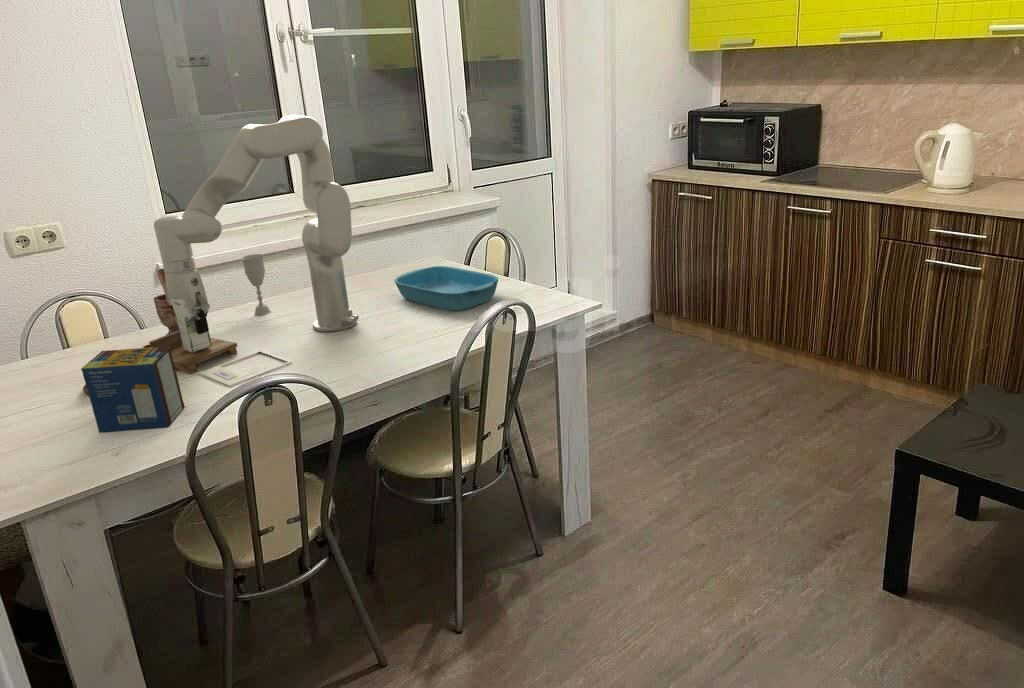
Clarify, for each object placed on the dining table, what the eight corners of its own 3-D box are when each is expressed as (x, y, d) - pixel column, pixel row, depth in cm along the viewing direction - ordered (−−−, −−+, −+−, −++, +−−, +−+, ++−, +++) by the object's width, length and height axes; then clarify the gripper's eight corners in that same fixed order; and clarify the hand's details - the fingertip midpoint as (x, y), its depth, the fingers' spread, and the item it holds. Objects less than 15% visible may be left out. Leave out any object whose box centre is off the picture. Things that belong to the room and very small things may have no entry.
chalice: (269, 315, 238) (259, 259, 231) (248, 316, 238) (237, 260, 231) (276, 308, 244) (267, 253, 238) (255, 309, 245) (245, 254, 238)
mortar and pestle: (153, 339, 223) (137, 273, 216) (180, 330, 229) (166, 265, 222) (172, 346, 216) (156, 278, 209) (200, 337, 222) (186, 271, 215)
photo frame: (198, 371, 195) (260, 349, 208) (199, 375, 195) (261, 353, 208) (229, 384, 186) (291, 360, 199) (230, 389, 186) (292, 364, 199)
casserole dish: (383, 298, 248) (381, 277, 246) (434, 281, 263) (432, 261, 261) (462, 319, 224) (460, 296, 222) (513, 299, 239) (512, 277, 237)
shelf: (238, 353, 208) (234, 329, 206) (189, 374, 195) (183, 349, 193) (205, 345, 215) (200, 322, 213) (155, 366, 202) (149, 341, 200)
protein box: (118, 412, 176) (101, 350, 171) (185, 407, 177) (170, 345, 171) (97, 433, 167) (79, 368, 161) (169, 428, 167) (153, 362, 161)
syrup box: (203, 342, 207) (191, 291, 202) (213, 347, 203) (201, 295, 198) (182, 349, 204) (169, 297, 198) (192, 353, 200) (179, 301, 195)
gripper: (213, 264, 194) (227, 330, 200) (170, 259, 203) (185, 322, 209) (188, 272, 188) (203, 339, 195) (145, 266, 197) (161, 331, 203)
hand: (194, 330), depth 202 cm, fingers open, 6 cm apart
